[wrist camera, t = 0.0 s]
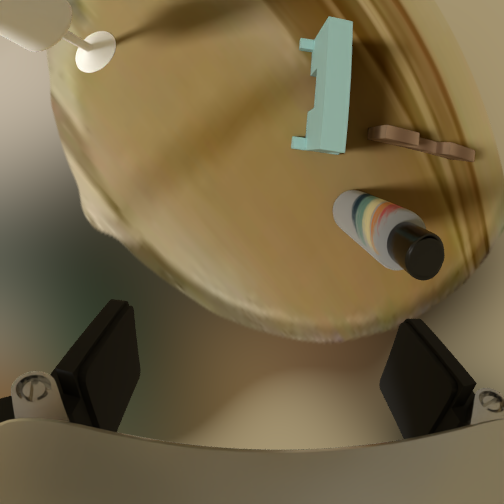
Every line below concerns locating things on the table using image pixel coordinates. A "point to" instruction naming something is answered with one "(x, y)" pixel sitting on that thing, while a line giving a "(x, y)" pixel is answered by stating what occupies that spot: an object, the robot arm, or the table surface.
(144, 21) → the table surface
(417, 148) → the brown u-shaped block
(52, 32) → the champagne flute
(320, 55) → the teal notched bracket
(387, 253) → the lotion bottle
